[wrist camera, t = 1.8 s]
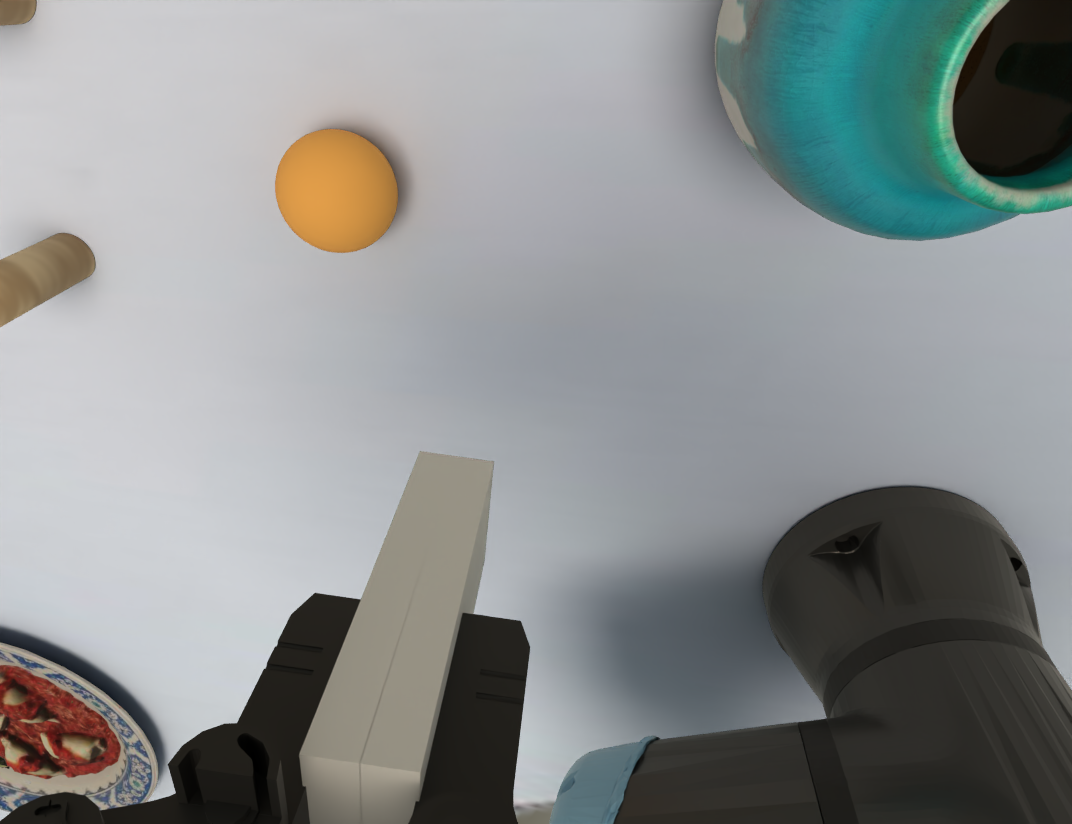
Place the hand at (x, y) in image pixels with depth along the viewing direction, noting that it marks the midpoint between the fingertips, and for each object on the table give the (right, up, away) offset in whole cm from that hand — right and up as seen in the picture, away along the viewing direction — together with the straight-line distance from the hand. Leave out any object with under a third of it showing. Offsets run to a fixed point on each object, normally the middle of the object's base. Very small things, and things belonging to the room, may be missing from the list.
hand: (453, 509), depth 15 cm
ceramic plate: (-43, -25, +48) cm, 70 cm away
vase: (+14, +19, +16) cm, 28 cm away
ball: (-7, +12, +18) cm, 23 cm away
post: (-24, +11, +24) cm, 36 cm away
